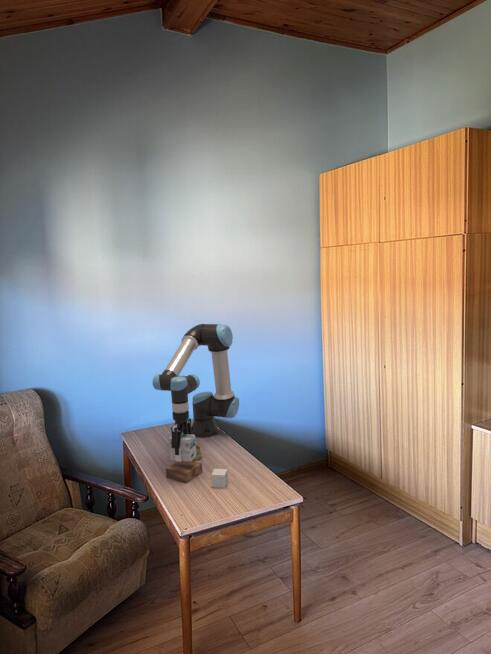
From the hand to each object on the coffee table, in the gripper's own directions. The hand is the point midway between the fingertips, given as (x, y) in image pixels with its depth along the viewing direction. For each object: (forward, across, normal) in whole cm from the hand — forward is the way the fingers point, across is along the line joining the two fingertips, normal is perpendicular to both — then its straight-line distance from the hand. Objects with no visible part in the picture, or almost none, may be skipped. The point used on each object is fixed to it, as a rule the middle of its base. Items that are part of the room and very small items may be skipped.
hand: (183, 457), depth 234 cm
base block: (+9, 0, 0) cm, 9 cm away
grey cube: (+9, +2, +20) cm, 22 cm away
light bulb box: (+1, 0, 0) cm, 1 cm away
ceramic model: (+9, -21, -8) cm, 24 cm away
